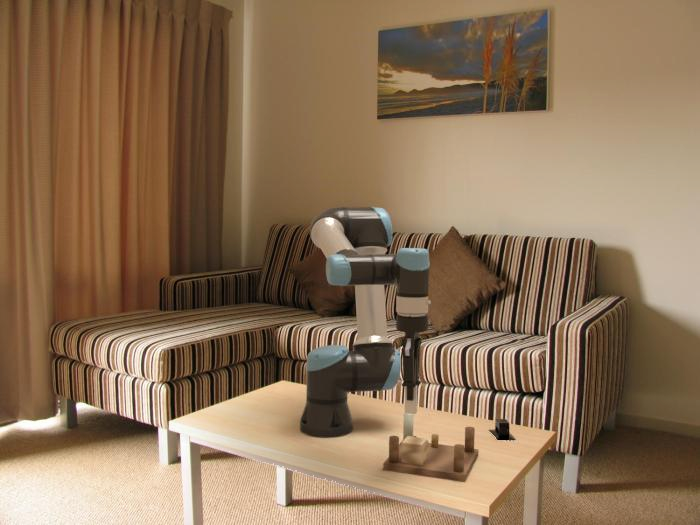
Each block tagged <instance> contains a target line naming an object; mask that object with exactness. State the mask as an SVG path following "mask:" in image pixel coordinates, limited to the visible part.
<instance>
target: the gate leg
mask: <svg viewBox="0 0 700 525" xmlns="http://www.w3.org/2000/svg"><path fill="white" fill-rule="evenodd" d="M414 415H415V414H410V413H405V412H404V413H403V429H402V430H403V432H402V434H403V435H402V437H403V438H402V441H404V440H405V438H406V437H407V436H411V437H413V436H414V424H415V423H414V418H415V416H414ZM426 439H427V446H428V443H429V438H426Z"/></svg>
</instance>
